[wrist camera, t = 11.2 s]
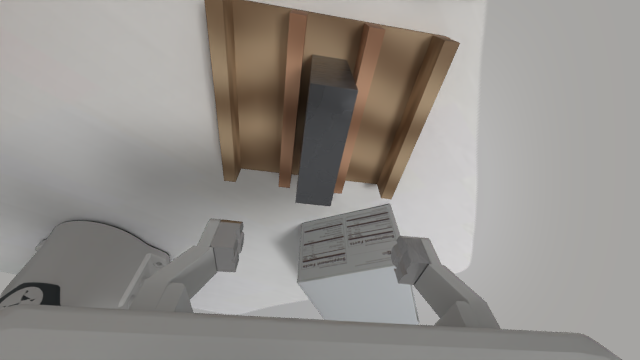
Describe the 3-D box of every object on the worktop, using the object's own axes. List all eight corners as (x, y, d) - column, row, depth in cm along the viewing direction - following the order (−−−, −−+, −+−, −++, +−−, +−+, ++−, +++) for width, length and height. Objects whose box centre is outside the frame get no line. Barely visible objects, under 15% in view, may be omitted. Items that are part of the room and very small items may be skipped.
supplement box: (299, 222, 36) (294, 283, 29) (390, 201, 34) (410, 262, 26) (331, 281, 46) (334, 338, 39) (403, 268, 44) (421, 326, 36)
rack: (387, 180, 31) (393, 199, 29) (230, 162, 29) (221, 180, 27) (445, 36, 22) (463, 43, 19) (216, -6, 20) (199, -4, 17)
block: (327, 156, 28) (330, 206, 22) (300, 152, 28) (295, 202, 21) (346, 59, 22) (358, 90, 15) (312, 54, 21) (310, 83, 15)
